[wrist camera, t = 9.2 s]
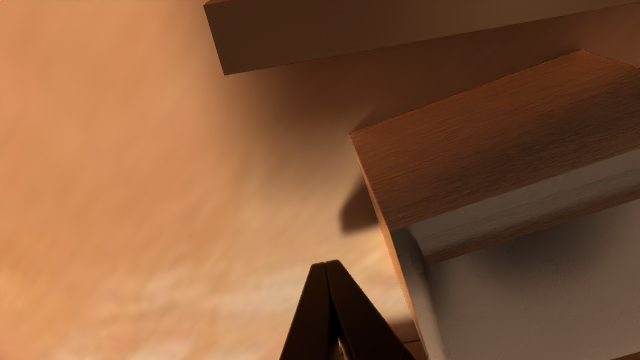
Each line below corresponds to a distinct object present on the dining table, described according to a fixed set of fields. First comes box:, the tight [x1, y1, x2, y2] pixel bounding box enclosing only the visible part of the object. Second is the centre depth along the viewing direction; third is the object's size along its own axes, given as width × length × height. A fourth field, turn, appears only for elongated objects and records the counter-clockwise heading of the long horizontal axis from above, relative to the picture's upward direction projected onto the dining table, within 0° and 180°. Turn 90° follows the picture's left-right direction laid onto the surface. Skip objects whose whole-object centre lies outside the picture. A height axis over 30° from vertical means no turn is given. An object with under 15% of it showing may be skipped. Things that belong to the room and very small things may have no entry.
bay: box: [203, 0, 640, 360], centre depth 10 cm, size 15×15×2 cm
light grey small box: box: [349, 50, 640, 360], centre depth 9 cm, size 6×6×5 cm
